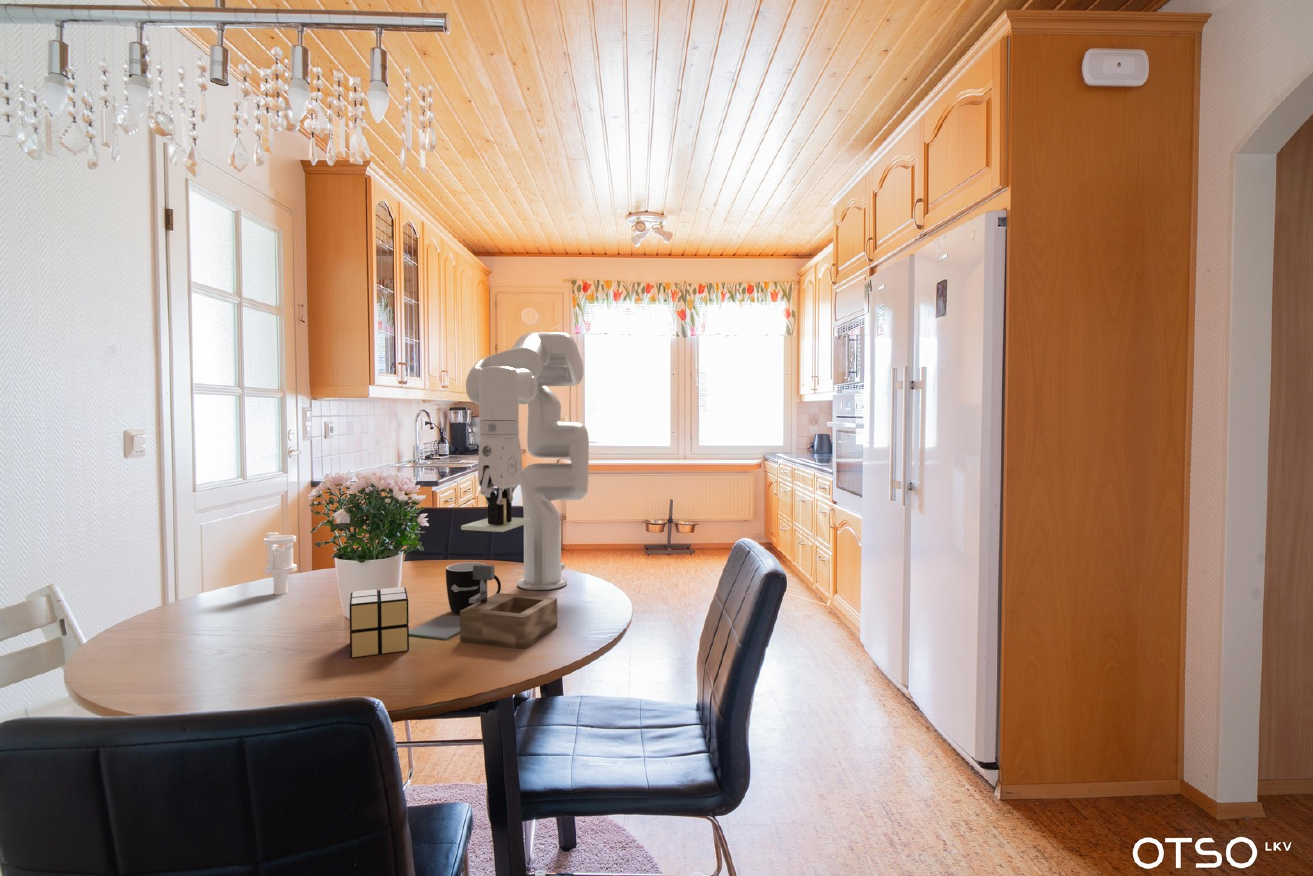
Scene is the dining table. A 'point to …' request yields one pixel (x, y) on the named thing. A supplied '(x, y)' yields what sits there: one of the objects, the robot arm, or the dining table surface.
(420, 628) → the mat
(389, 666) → the dining table surface
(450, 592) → the mug
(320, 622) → the dining table surface
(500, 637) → the case
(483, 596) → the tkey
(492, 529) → the cover
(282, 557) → the white cylindrical part
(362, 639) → the puzzle cube
